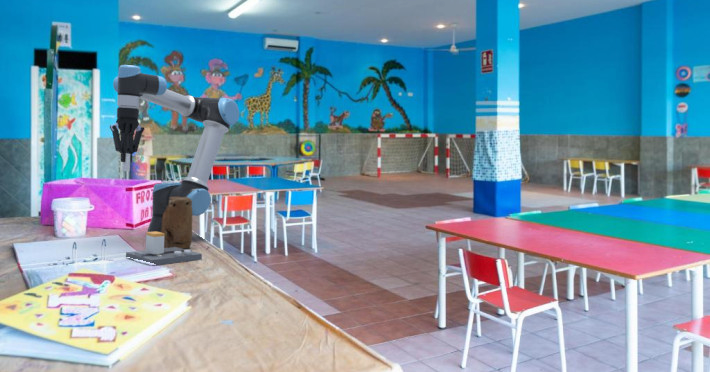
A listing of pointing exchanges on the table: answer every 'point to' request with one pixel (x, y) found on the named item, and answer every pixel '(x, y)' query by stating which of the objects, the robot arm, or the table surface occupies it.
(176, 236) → the brown rounded upright piece
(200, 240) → the table surface
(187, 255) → the console board
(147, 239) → the fader tab
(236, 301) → the table surface
